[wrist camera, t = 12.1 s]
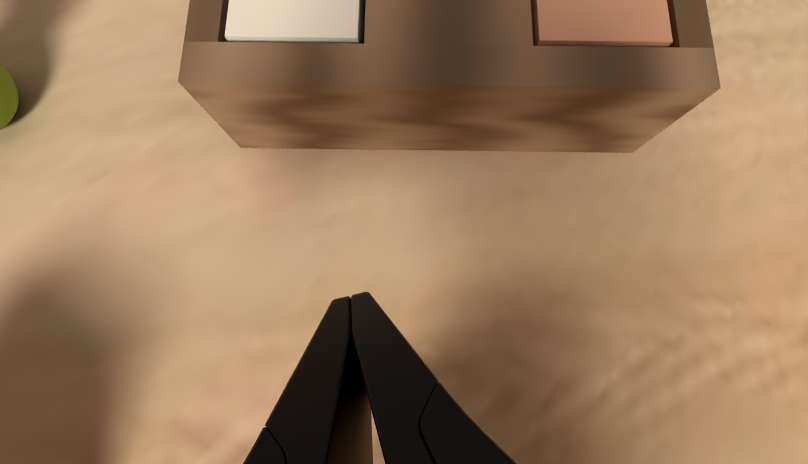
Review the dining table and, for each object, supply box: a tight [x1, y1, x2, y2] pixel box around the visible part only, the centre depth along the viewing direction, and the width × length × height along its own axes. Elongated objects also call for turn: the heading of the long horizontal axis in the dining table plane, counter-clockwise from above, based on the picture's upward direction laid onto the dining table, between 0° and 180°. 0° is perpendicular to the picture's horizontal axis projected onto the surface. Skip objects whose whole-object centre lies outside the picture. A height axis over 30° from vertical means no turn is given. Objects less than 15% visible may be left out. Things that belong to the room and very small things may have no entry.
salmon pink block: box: [530, 0, 673, 47], centre depth 22 cm, size 6×6×7 cm
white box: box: [225, 0, 366, 44], centre depth 22 cm, size 6×6×7 cm
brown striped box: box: [178, 0, 720, 152], centre depth 22 cm, size 24×11×7 cm, turn 89°
